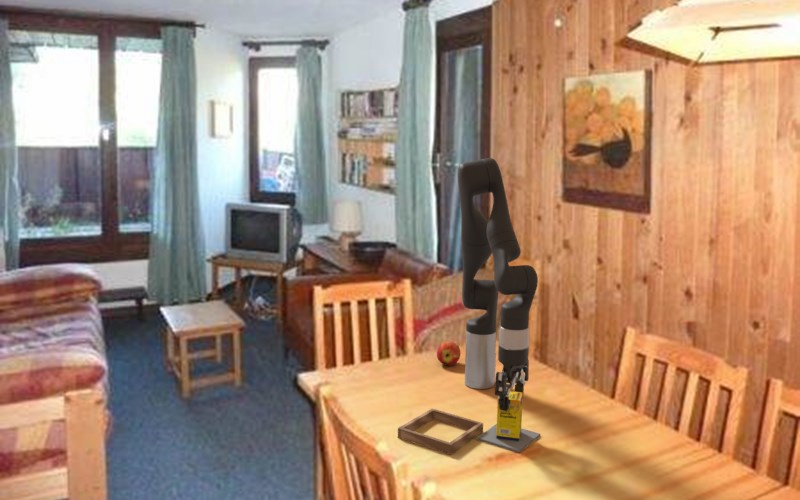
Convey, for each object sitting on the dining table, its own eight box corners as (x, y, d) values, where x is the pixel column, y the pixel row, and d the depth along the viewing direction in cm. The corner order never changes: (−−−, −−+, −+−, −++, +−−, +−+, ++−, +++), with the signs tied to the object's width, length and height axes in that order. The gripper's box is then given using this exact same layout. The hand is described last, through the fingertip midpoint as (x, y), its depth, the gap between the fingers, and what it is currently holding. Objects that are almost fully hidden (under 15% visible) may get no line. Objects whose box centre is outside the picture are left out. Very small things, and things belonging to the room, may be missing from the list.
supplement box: (519, 441, 173) (521, 400, 171) (495, 438, 175) (497, 398, 173) (521, 431, 179) (523, 392, 177) (498, 429, 180) (500, 389, 178)
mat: (499, 424, 185) (499, 422, 185) (540, 435, 178) (540, 433, 178) (476, 439, 175) (476, 437, 175) (519, 452, 168) (519, 450, 168)
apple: (435, 367, 229) (435, 344, 227) (438, 359, 237) (438, 337, 236) (459, 369, 227) (459, 346, 226) (461, 361, 236) (461, 338, 234)
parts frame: (432, 417, 189) (432, 408, 189) (483, 432, 180) (483, 423, 179) (397, 437, 176) (397, 428, 176) (450, 454, 167) (450, 445, 167)
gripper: (512, 334, 180) (510, 392, 183) (486, 348, 169) (485, 410, 172) (539, 339, 176) (536, 398, 179) (514, 354, 164) (512, 417, 167)
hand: (511, 404), depth 175 cm, fingers open, 8 cm apart
